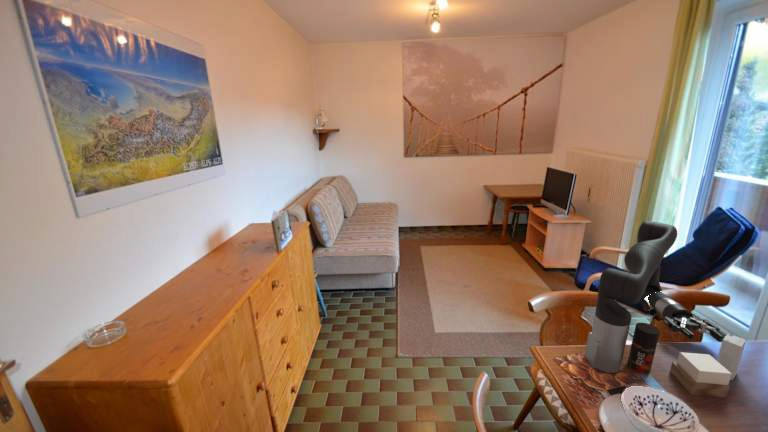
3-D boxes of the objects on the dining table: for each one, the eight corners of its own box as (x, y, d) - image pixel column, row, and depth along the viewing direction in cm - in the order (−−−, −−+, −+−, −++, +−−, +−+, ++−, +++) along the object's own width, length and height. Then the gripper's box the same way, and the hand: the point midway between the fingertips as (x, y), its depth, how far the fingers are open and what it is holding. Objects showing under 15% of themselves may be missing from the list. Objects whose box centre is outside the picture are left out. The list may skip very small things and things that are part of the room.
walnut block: (690, 395, 94) (694, 383, 93) (669, 372, 103) (672, 361, 102) (726, 398, 93) (729, 386, 92) (701, 374, 101) (704, 364, 100)
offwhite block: (696, 382, 94) (699, 370, 93) (676, 362, 101) (679, 352, 100) (727, 385, 92) (731, 373, 91) (705, 365, 100) (709, 354, 99)
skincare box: (732, 381, 98) (743, 347, 95) (712, 372, 102) (722, 339, 99) (737, 372, 102) (748, 340, 98) (717, 364, 105) (727, 332, 102)
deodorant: (647, 364, 106) (656, 325, 102) (652, 377, 101) (662, 336, 97) (625, 359, 108) (633, 320, 104) (629, 371, 103) (638, 331, 99)
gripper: (654, 302, 123) (686, 327, 108) (696, 304, 121) (734, 330, 106) (650, 319, 125) (681, 346, 110) (691, 321, 123) (728, 349, 108)
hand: (707, 338), depth 108 cm, fingers open, 8 cm apart
